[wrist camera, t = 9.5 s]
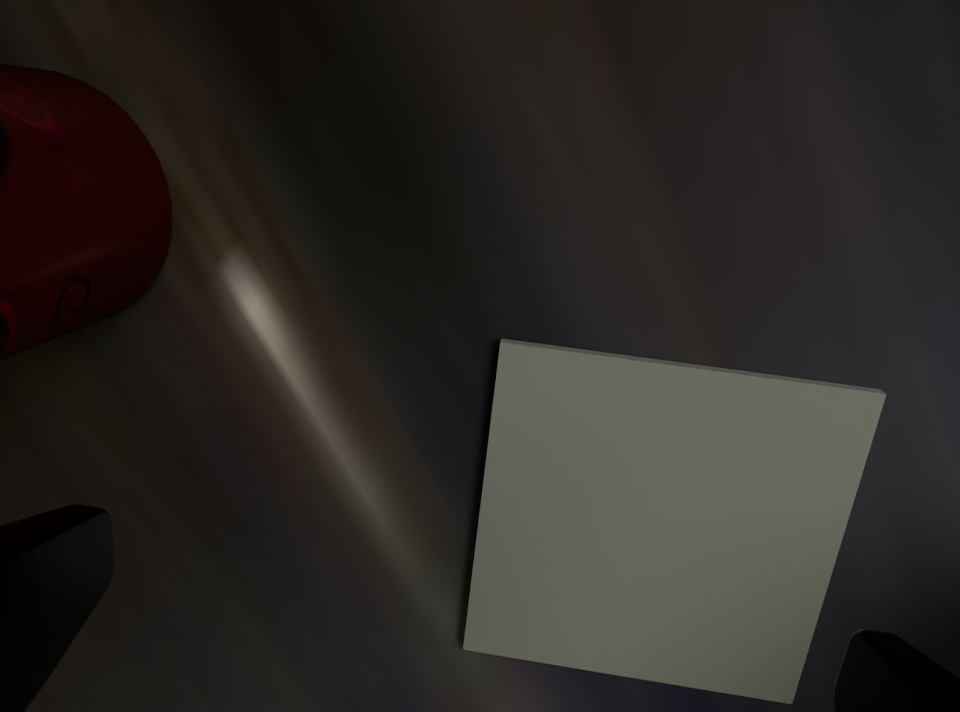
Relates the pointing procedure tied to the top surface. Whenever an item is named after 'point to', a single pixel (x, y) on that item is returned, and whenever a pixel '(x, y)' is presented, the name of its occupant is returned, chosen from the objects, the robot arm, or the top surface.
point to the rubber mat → (662, 516)
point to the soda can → (73, 208)
